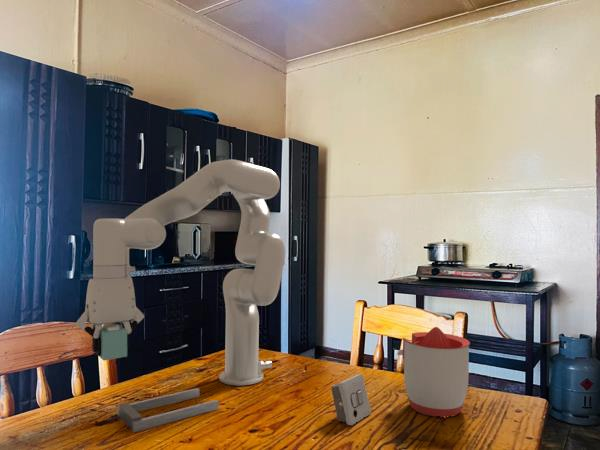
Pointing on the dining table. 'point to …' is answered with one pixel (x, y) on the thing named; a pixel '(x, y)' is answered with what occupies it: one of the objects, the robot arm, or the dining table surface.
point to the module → (113, 341)
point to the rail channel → (137, 423)
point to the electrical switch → (351, 400)
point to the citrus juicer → (436, 372)
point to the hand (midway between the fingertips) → (111, 351)
